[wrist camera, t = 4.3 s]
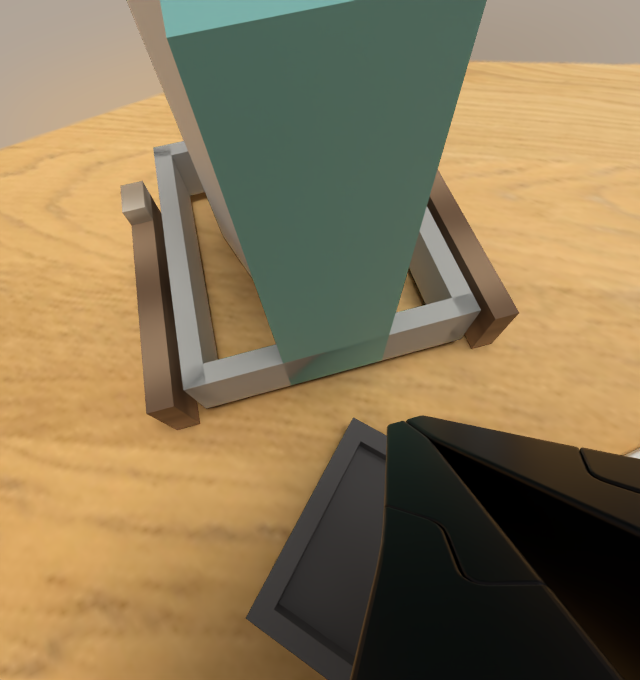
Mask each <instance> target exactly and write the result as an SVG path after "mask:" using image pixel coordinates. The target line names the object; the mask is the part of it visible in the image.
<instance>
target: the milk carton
mask: <svg viewBox="0 0 640 680" xmlns="http://www.w3.org/2000/svg"><path fill="white" fill-rule="evenodd" d="M126 1H127V3H128V5H129V8H130V10H131V13H132V15H133V18H134V20H135V22H136V25H137V27H138V30H139V32H140V34H141V37H142V40H143V42H144V44H145V47H146V49H147V52H148V54H149V57H150V59H151V62H152V64H153V66H154V69H155V71H156V74H157V76H158V78H159V81H160V84H161V86H162V88H163V91H164V93H165V96H166V98H167V101H168V103H169V106H170V108H171V110H172V113H173V115H174V118H175V120H176V123H177V125H178V128H179V130H180V132H181V135H182V137H183V140H184V142H185V145H186V147H187V150H188V152H189V154H190V157H191V159H192V162H193V164H194V167H195V169H196V172H197V174H198V176H199V179H200V181H201V184H202V186H203V189H204V191H205V193H206V196H207V198H208V201H209V203H210V206H211V208H212V211H213V213H214V215H215V218H216V220H217V223H218V225H219V228H220V230H221V233H222V235H223V237H224V238H225V240H226V241H227V243H228V244H229V245H230V247H231V248H232V250H233V251H234V253H235V254H236V256H237V257H238V259H239V260H240V261H241V263H242V264H243V266H244V267H245V269H246V270H247V272H248V273H249V275H250V276H251V277H252V275H251V272H250V270H249V267H248V264H247V261H246V258H245V256H244V253H243V250H242V247H241V244H240V242H239V239H238V236H237V233H236V230H235V228H234V225H233V222H232V219H231V217H230V214H229V211H228V208H227V205H226V203H225V200H224V197H223V194H222V191H221V189H220V186H219V183H218V180H217V177H216V175H215V172H214V169H213V166H212V163H211V161H210V158H209V155H208V152H207V149H206V147H205V144H204V141H203V138H202V135H201V133H200V130H199V127H198V124H197V122H196V119H195V116H194V113H193V110H192V108H191V105H190V102H189V99H188V96H187V94H186V91H185V88H184V85H183V82H182V80H181V77H180V74H179V71H178V68H177V66H176V63H175V60H174V57H173V54H172V52H171V49H170V46H169V43H168V41H167V38H166V32H165V26H164V21H163V15H162V10H161V4H160V0H126ZM252 279H253V278H252Z"/></svg>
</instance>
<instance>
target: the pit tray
mask: <svg viewBox="0 0 640 680" xmlns="http://www.w3.org/2000/svg"><path fill="white" fill-rule="evenodd" d="M386 444H387V436H386V435H384V434H383V433H381V432H379V431H377V430H375V429H373V428H372V427H370V426H368V425H366V424H364V423H362V422H361V421H359V420H357V419H355V418H353V419H352V421H351V423H350V425H349V426H348V428H347V430H346V432H345V434H344V436H343V438H342V440H341V441H340V443H339V445H338V447H337V449H336V451H335V453H334V454H333V456H332V458H331V460H330V462H329V464H328V466H327V467H326V469H325V471H324V473H323V475H322V477H321V479H320V481H319V482H318V484H317V486H316V488H315V490H314V492H313V494H312V495H311V497H310V499H309V501H308V503H307V505H306V507H305V508H304V510H303V512H302V514H301V516H300V518H299V520H298V522H297V523H296V525H295V527H294V529H293V531H292V533H291V535H290V536H289V538H288V540H287V542H286V544H285V546H284V548H283V550H282V551H281V553H280V555H279V557H278V559H277V561H276V563H275V564H274V566H273V568H272V570H271V572H270V574H269V576H268V577H267V579H266V581H265V583H264V585H263V587H262V589H261V591H260V592H259V594H258V596H257V598H256V600H255V602H254V604H253V605H252V607H251V609H250V611H249V613H248V615H247V617H246V619H247V620H248V621H250V622H251V623H252V624H254V625H255V626H257V627H258V628H259V629H261V630H262V631H263V632H265V633H266V634H267V635H269V636H270V637H271V638H273V639H274V640H275V641H277V642H278V643H279V644H281V645H282V646H283V647H285V648H286V649H287V650H289V651H290V652H291V653H293V654H294V655H295V656H297V657H298V658H300V659H301V660H302V661H304V662H305V663H306V664H308V665H309V666H310V667H312V668H313V669H314V670H316V671H317V672H318V673H320V674H321V675H322V676H324V677H325V678H326V679H328V680H350V676H351V672H352V668H353V664H354V660H355V656H356V651H357V647H358V643H359V639H360V635H361V631H362V626H363V622H364V618H365V614H366V610H367V606H368V601H369V597H370V593H371V589H372V585H373V581H374V576H375V572H376V568H377V562H378V557H379V552H380V546H381V538H382V528H383V510H384V495H385V470H386Z"/></svg>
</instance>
